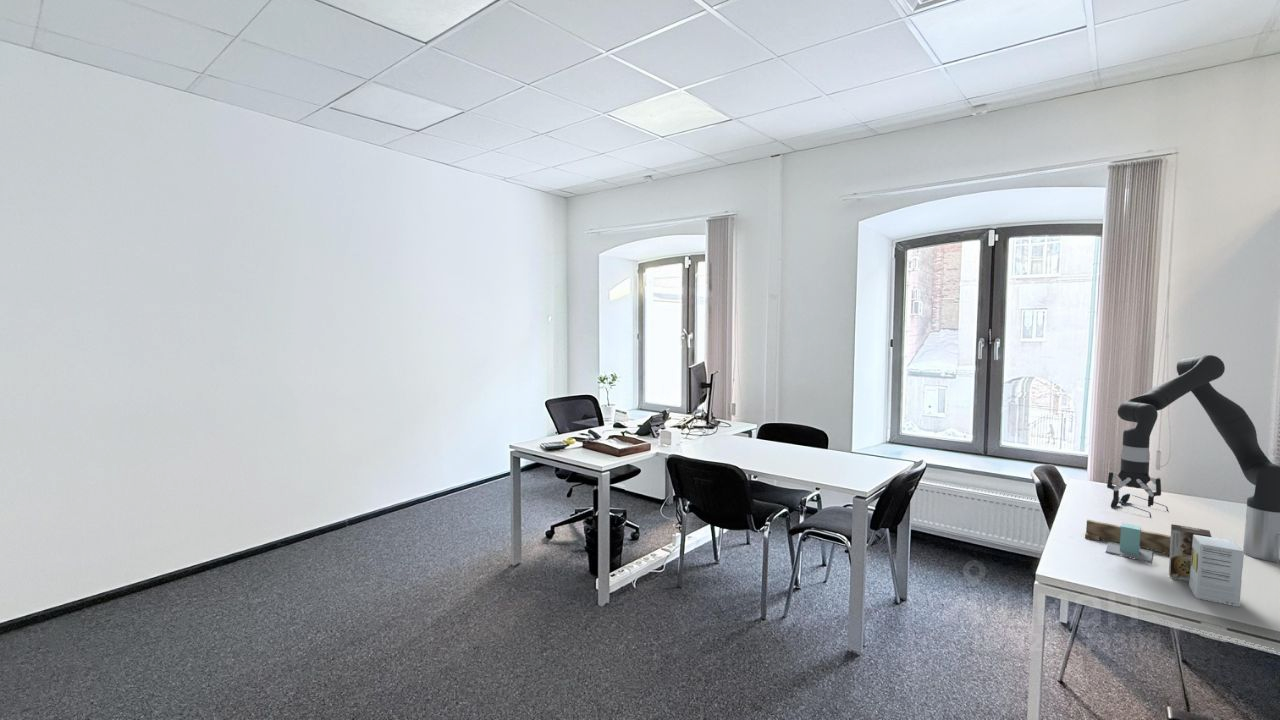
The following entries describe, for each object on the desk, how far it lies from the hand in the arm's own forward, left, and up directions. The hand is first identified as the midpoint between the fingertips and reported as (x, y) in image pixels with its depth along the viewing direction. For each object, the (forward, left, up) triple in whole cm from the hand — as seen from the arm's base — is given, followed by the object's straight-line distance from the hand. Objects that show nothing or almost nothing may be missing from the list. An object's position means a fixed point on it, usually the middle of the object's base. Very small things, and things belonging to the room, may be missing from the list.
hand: (1132, 503), depth 196 cm
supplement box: (-27, +17, -18) cm, 37 cm away
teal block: (0, 0, -17) cm, 17 cm away
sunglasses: (+23, -61, -19) cm, 68 cm away
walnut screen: (+4, -9, -18) cm, 21 cm away
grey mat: (0, 0, -18) cm, 18 cm away
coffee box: (-18, +8, -18) cm, 27 cm away
